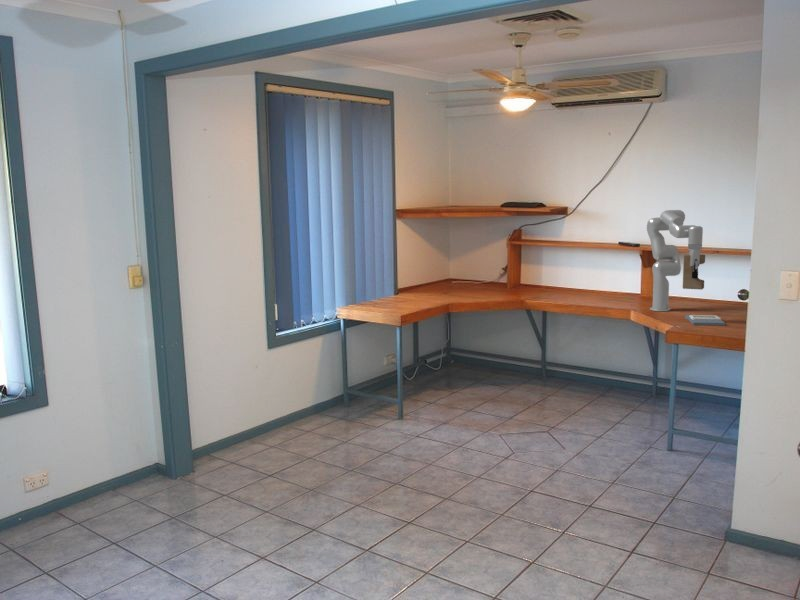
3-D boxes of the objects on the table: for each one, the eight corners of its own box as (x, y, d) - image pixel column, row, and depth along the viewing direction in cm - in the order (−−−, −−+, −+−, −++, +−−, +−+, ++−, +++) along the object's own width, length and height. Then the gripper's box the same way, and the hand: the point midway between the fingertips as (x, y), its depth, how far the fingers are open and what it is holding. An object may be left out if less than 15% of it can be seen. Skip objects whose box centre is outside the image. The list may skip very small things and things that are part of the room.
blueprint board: (684, 317, 414) (684, 313, 414) (714, 317, 411) (714, 313, 411) (693, 324, 391) (693, 320, 391) (725, 325, 388) (725, 321, 387)
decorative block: (704, 288, 401) (705, 254, 398) (702, 289, 396) (703, 255, 393) (684, 287, 407) (685, 254, 404) (682, 288, 403) (683, 255, 399)
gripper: (685, 246, 407) (684, 275, 410) (690, 248, 391) (689, 279, 393) (699, 246, 406) (697, 276, 408) (704, 248, 389) (703, 279, 392)
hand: (693, 277), depth 401 cm, fingers closed on decorative block, 6 cm apart
